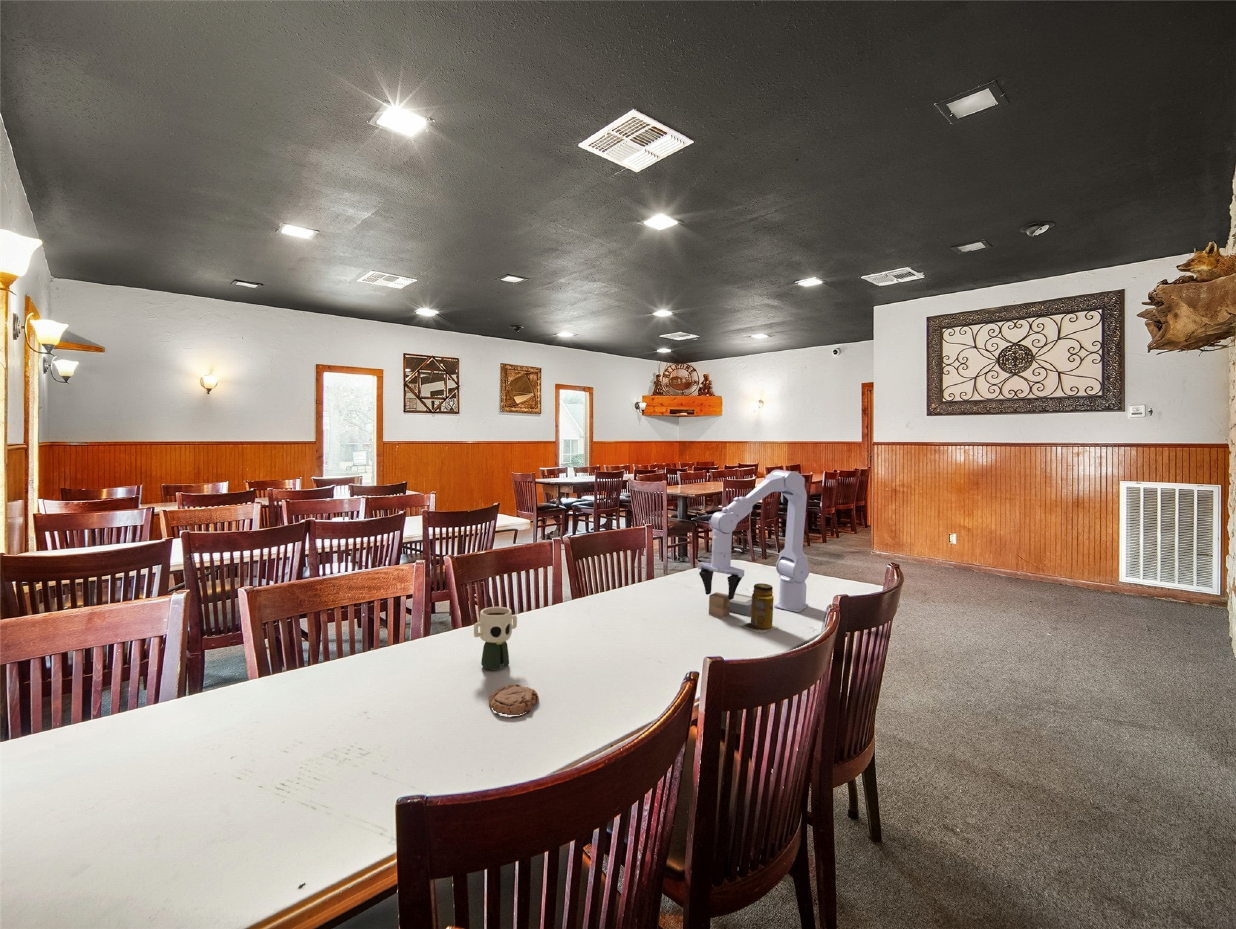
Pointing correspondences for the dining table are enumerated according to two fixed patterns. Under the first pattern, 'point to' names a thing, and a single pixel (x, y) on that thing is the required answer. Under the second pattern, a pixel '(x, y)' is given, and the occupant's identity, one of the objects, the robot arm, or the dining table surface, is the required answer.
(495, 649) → the character mug
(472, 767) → the dining table surface
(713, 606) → the walnut block
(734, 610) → the slate base
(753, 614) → the condiment
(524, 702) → the cookie
